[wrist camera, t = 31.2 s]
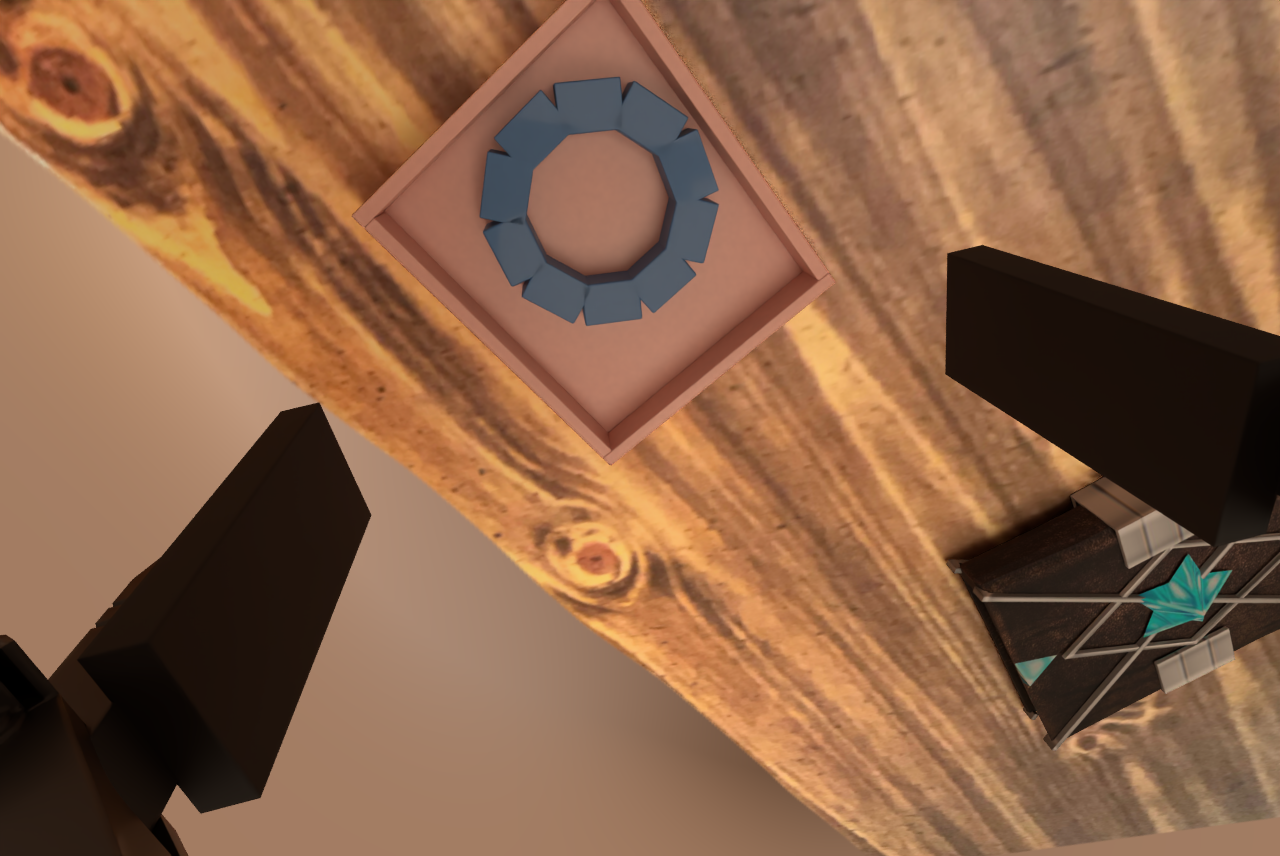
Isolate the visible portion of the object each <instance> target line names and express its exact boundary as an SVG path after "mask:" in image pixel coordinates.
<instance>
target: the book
mask: <svg viewBox="0 0 1280 856" xmlns="http://www.w3.org/2000/svg"><path fill="white" fill-rule="evenodd" d="M1070 497H1071V500H1072V503H1073V506H1074V509H1072V510H1070V511H1068V512H1066V513H1064V514H1062V515H1060V516H1058V517H1056V518H1054V519H1052V520H1050V521H1049V522H1047V523H1045V524H1042V525H1040V526H1038V527H1036V528H1034V529H1032V530H1030V531H1028V532H1026V533H1024V534H1022V535H1020V536H1018V537H1016V538H1014V539H1012V540H1010V541H1007V542H1005V543H1003V544H1001V545H999V546H997V547H995V548H993V549H991V550H989V551H987V552H985V553H983V554H981V555H979V556H977V557H975V558H972V559H970V560H949V559H948V561H947V566H948V567H949V568H950V569H951V570H952V571H953V572H954V573H960V575H961V577H962V579H963V581H964V583H965V585H966V586H967V588H968V590H969V592H970V594H971V596H972V598H973V600H974V602H975V604H976V606H977V608H978V610H979V612H980V614H981V616H982V618H983V620H984V622H985V624H986V626H987V628H988V631H989V633H990V635H991V637H992V639H993V641H994V643H995V645H996V647H997V649H998V652H999V654H1000V656H1001V658H1002V660H1003V662H1004V664H1005V666H1006V668H1007V670H1008V673H1009V675H1010V677H1011V679H1012V681H1013V683H1014V685H1015V688H1016V690H1017V692H1018V694H1019V696H1020V698H1021V701H1022V703H1023V705H1024V708H1023V710H1024V711H1025V713H1026V714H1027V715H1028V716H1029V718H1030V719H1032V720H1035V719H1036V718H1037V716H1038V715H1039V717H1040V719H1041V721H1042V723H1043V725H1044V727H1045V729H1046V731H1047V733H1048V734H1047V735H1046V736H1045V737H1044V738H1043V740H1044V741H1045V742H1046V743H1047V745H1048V746H1049V747H1050V748H1051V750H1054V751H1056V750H1057V749H1058V748H1059V747H1060V746H1061V744H1062V743H1063V742H1064V741H1065V740H1066V739H1067V738H1068V737H1070V736H1072V735H1074V734H1075V733H1077V732H1079V731H1081V730H1083V729H1085V728H1087V727H1089V726H1091V725H1093V724H1094V723H1096V722H1098V721H1100V720H1102V719H1104V718H1106V717H1108V716H1110V715H1112V714H1113V713H1115V712H1117V711H1119V710H1121V709H1123V708H1125V707H1127V706H1129V705H1131V704H1132V703H1134V702H1136V701H1138V700H1140V699H1142V698H1144V697H1146V696H1148V695H1150V694H1152V693H1154V692H1156V691H1158V690H1160V689H1161V690H1162V691H1163V692H1164V693H1165V694H1166V693H1168V692H1170V691H1172V690H1174V689H1176V688H1178V687H1180V686H1182V685H1185V684H1187V683H1189V682H1191V681H1193V680H1195V679H1197V678H1199V677H1201V676H1203V675H1205V674H1207V673H1209V672H1211V671H1213V670H1215V669H1217V668H1219V667H1221V666H1223V665H1225V664H1227V663H1229V662H1231V661H1233V660H1235V656H1234V651H1236V650H1238V649H1240V648H1241V647H1243V646H1245V645H1247V644H1249V643H1251V642H1253V641H1255V640H1257V639H1259V638H1261V637H1263V636H1265V635H1267V634H1270V633H1272V632H1274V631H1276V630H1279V629H1280V496H1279V495H1277V498H1276V501H1275V505H1274V508H1273V512H1272V515H1271V518H1270V522H1269V525H1268V529H1267V532H1266V534H1264V535H1260V536H1256V537H1252V538H1248V539H1245V540H1241V541H1237V542H1233V543H1229V544H1225V545H1222V546H1218V547H1213V546H1211V545H1209V544H1208V543H1206V542H1205V541H1203V540H1202V539H1200V538H1199V537H1197V536H1195V535H1194V534H1192V533H1191V532H1189V531H1188V530H1186V529H1185V528H1183V527H1182V526H1180V525H1178V524H1177V523H1175V522H1174V521H1172V520H1171V519H1169V518H1168V517H1166V516H1164V515H1163V514H1161V513H1160V512H1158V511H1157V510H1155V509H1154V508H1152V507H1151V506H1149V505H1147V504H1146V503H1144V502H1143V501H1141V500H1140V499H1138V498H1137V497H1135V496H1133V495H1132V494H1130V493H1129V492H1127V491H1126V490H1124V489H1123V488H1121V487H1120V486H1118V485H1116V484H1115V483H1113V482H1112V481H1110V480H1109V479H1107V478H1106V477H1104V478H1102V479H1100V480H1098V481H1096V482H1094V483H1092V484H1091V485H1089V486H1087V487H1085V488H1083V489H1081V490H1080V491H1078V492H1076V493H1074V494H1072V495H1070ZM1036 711H1037V712H1036ZM1037 713H1038V714H1037Z"/></svg>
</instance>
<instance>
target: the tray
mask: <svg viewBox="0 0 1280 856" xmlns="http://www.w3.org/2000/svg"><path fill="white" fill-rule="evenodd" d="M609 77H620V79H621V90H622V93H623V91H624V89H625V87H626V86H627V84H628V83H629V82H632V81H636V82H637V83H639V84H640V85H642V86H643V87H645V88H646V89H648V90H649V91H651V92H652V93H654V94H655V95H657V96H658V97H660V98H661V99H662V100H664V101H665V102H667V103H668V104H670V105H671V106H673V107H674V108H676V109H677V110H679V111H680V112H682V113H683V114H685V115H686V116H687V117H688V120H687V122H686V124H685V125H684V127H683V129H682V130H685V129H687V128H692V129H697V130H698V132H699V135H700V137H701V140H702V143H703V146H704V149H705V152H706V155H707V157H708V160H709V163H710V166H711V169H712V172H713V175H714V177H715V180H716V183H717V186H718V189H719V190H718V191H717V192H714V193H712V194H710V195H708V196H706V197H704V198H708V199H710V200H712V201H714V202H716V203H718V204H719V207H718V211H717V215H716V219H715V222H714V226H713V230H712V234H711V238H710V242H709V246H708V249H707V253H706V257H705V261H704V263H697V262H692V261H687V260H685V261H686V262H687V263H688V264H689V266H690V267H691V268H692V269H693V270H694V272H695V273H696V276H695V277H694V278H693V279H692V280H691V281H690V282H688V283H687V284H686V285H685V286H684V287H683V288H682V289H681V290H680V291H678V292H677V293H676V294H675V295H674V296H673V297H672V298H671V299H669V300H668V301H667V302H666V303H665V304H664V305H663V306H662V307H661V308H659V309H658V310H657V311H656V312H655V313H652V312H651V311H650V309H649V308H648V307H647V306H646V305H645V304H644V303H643V302H642V301H641V308H642V319H638V320H630V321H622V322H614V323H607V324H599V325H591V326H586V324H585V320H584V316H583V309H582V310H581V312H580V314H579V315H578V317H577V319H576V321H575V323H574V324H572V323H570V322H568V321H566V320H565V319H563V318H561V317H559V316H557V315H555V314H553V313H551V312H549V311H547V310H545V309H543V308H542V307H540V306H538V305H536V304H534V303H532V302H530V301H528V300H526V299H524V298H522V286H523V284H524V282H525V281H524V282H522V283H520V284H518V285H516V286H513V287H512V286H511V285H510V283H509V281H508V279H507V278H506V276H505V274H504V272H503V270H502V268H501V266H500V264H499V262H498V261H497V259H496V257H495V255H494V253H493V251H492V249H491V247H490V246H489V244H488V242H487V240H486V238H485V236H484V234H483V230H484V228H485V226H486V224H488V223H490V222H492V221H493V220H488V219H483V218H480V216H479V215H480V207H481V199H482V191H483V182H484V174H485V166H486V158H487V152H488V151H489V150H490V149H494V150H499V151H503V152H506V151H505V150H504V149H503V148H502V147H501V146H500V145H499V144H498V142H497V141H496V140H495V139H494V137H495V136H496V135H497V134H498V133H499V132H500V131H501V130H502V129H503V128H504V126H505V125H506V124H507V123H508V122H509V121H510V120H511V119H512V118H513V117H514V116H515V115H516V114H517V113H518V112H519V111H520V110H521V109H522V108H523V107H524V106H525V105H526V104H527V103H528V102H529V101H530V100H531V99H532V98H533V97H534V96H535V95H536V94H537V93H538V91H539V90H542V91H543V93H544V94H545V95H546V96H547V97H548V98H549V100H550V101H551V102H552V103H553V104H554V106H555V98H554V91H553V84H554V83H559V82H569V81H579V80H589V79H599V78H609ZM555 107H556V106H555ZM668 199H669V197H668V194H667V191H666V189H665V186H664V184H663V181H662V179H661V176H660V173H659V171H658V168H657V166H656V163H655V161H654V158H653V155H652V154H651V153H650V152H648V151H647V150H645V149H644V148H642V147H641V146H639V145H638V144H636V143H634V142H633V141H631V140H630V139H628V138H627V137H625V136H624V135H622V134H620V133H619V132H617V131H616V130H611V131H601V132H592V133H582V134H573V135H568V136H567V137H566V138H565V139H564V140H563V141H562V142H561V143H560V144H559V145H558V146H557V147H556V148H555V149H554V150H553V151H552V152H551V153H550V154H549V155H548V156H547V157H546V158H545V159H544V160H543V161H542V162H541V163H540V164H539V165H538V166H537V167H536V168H535V169H534V170H533V176H532V183H531V189H530V196H529V203H528V209H527V215H528V217H529V219H530V221H531V223H532V225H533V227H534V229H535V231H536V233H537V235H538V237H539V240H540V242H541V244H542V246H543V248H544V250H545V252H546V254H547V255H549V256H550V257H552V258H554V259H556V260H558V261H560V262H561V263H563V264H565V265H567V266H569V267H570V268H572V269H574V270H576V271H578V272H579V273H581V274H583V275H585V276H587V275H595V274H603V273H611V272H619V271H627V270H628V269H629V268H630V267H631V266H632V265H634V264H635V263H636V262H637V261H638V260H639V259H640V258H641V257H642V256H643V255H644V254H645V253H647V252H648V251H649V250H650V249H651V248H652V247H653V246H654V245H655V244H656V243H657V242H658V241H659V238H660V233H661V229H662V225H663V220H664V216H665V212H666V207H667V203H668ZM352 217H353V218H354V219H355V220H356V221H357V222H358V223H359V224H360V225H361V226H362V227H365V230H366V231H367V232H368V233H369V234H371V235H372V236H373V237H374V238H375V239H376V240H377V241H378V242H379V243H380V244H381V245H382V246H383V247H384V248H385V249H386V250H387V251H388V252H389V253H390V254H391V255H392V256H393V257H394V258H395V259H396V260H397V261H399V262H400V263H401V264H402V265H403V266H404V267H405V268H406V269H407V270H408V271H409V272H410V273H411V274H412V275H413V276H414V277H415V278H416V279H417V280H418V281H419V282H420V283H421V284H422V285H423V286H424V287H426V288H427V289H428V290H429V291H430V292H431V293H432V294H433V295H434V296H435V297H436V298H437V299H438V300H439V301H440V302H441V303H442V304H443V305H444V306H445V307H446V308H447V309H448V310H449V311H450V312H451V313H453V314H454V315H455V316H456V317H457V318H458V319H459V320H460V321H461V322H462V323H463V324H464V325H465V326H466V327H467V328H468V329H469V330H470V331H471V332H472V333H473V334H474V335H475V336H476V337H477V338H478V339H480V340H481V341H482V342H483V343H484V344H485V345H486V346H487V347H488V348H489V349H490V350H491V351H492V352H493V353H494V354H495V355H496V356H497V357H498V358H499V359H500V360H501V361H502V362H503V363H504V364H505V365H507V366H508V367H509V368H510V369H511V370H512V371H513V372H514V373H515V374H516V375H517V376H518V377H519V378H520V379H521V380H522V381H523V382H524V383H525V384H526V385H527V386H528V387H529V388H530V389H531V390H532V391H533V392H535V393H536V394H537V395H538V396H539V397H540V398H541V399H542V400H543V401H544V402H545V403H546V404H547V405H548V406H549V407H550V408H551V409H552V410H553V411H554V412H555V413H556V414H557V415H558V416H559V417H560V418H562V419H563V420H564V421H565V422H566V423H567V424H568V425H569V426H570V427H571V428H572V429H573V430H574V431H575V432H576V433H577V434H578V435H579V436H580V437H581V438H582V439H583V440H584V441H585V442H586V443H587V444H589V445H590V446H591V447H592V448H593V449H594V450H595V451H596V452H597V453H598V454H599V455H600V456H601V457H602V458H603V459H604V460H605V461H606V462H607V463H608V464H609V465H612V464H614V463H615V462H616V461H617V460H619V459H620V458H621V457H622V456H623V455H625V454H626V453H627V452H628V451H630V450H631V449H632V448H633V447H635V446H636V445H637V444H638V443H639V442H641V441H642V440H643V439H644V438H646V437H647V436H648V435H649V434H650V433H652V432H653V431H654V430H655V429H657V428H658V427H659V426H660V425H661V424H663V423H664V422H665V421H666V420H668V419H669V418H670V417H671V416H673V415H674V414H675V413H676V412H677V411H679V410H680V409H681V408H682V407H684V406H685V405H686V404H687V403H688V402H690V401H691V400H692V399H693V398H695V397H696V396H697V395H698V394H699V393H701V392H702V391H703V390H704V389H706V388H707V387H708V386H709V385H711V384H712V383H713V382H714V381H715V380H717V379H718V378H719V377H720V376H722V375H723V374H724V373H725V372H726V371H728V370H729V369H730V368H731V367H733V366H734V365H735V364H736V363H737V362H739V361H740V360H741V359H742V358H744V357H745V356H746V355H747V354H749V353H750V352H751V351H752V350H753V349H755V348H756V347H757V346H758V345H760V344H761V343H762V342H763V341H764V340H766V339H767V338H768V337H769V336H771V335H772V334H773V333H774V332H776V331H777V330H778V329H779V328H780V327H782V326H783V325H784V324H785V323H787V322H788V321H789V320H790V319H791V318H793V317H794V316H795V315H796V314H798V313H799V312H800V311H801V310H802V309H804V308H805V307H806V306H807V305H809V304H810V303H811V302H812V301H814V300H815V299H816V298H817V297H818V296H820V295H821V294H822V293H823V292H825V291H826V290H827V289H828V288H829V287H831V286H832V285H833V284H834V283H835V280H834V279H833V277H832V276H831V274H830V273H829V272H828V270H827V268H826V267H825V265H824V264H823V263H822V261H821V260H820V258H819V257H818V255H817V254H816V252H815V251H814V250H813V248H812V247H811V245H810V244H809V242H808V241H807V239H806V238H805V237H804V235H803V234H802V232H801V231H800V229H799V228H798V226H797V225H796V224H795V222H794V221H793V219H792V218H791V216H790V215H789V213H788V212H787V211H786V209H785V208H784V206H783V205H782V203H781V202H780V200H779V199H778V198H777V196H776V195H775V193H774V192H773V190H772V189H771V187H770V186H769V185H768V183H767V182H766V180H765V179H764V177H763V176H762V174H761V173H760V172H759V170H758V169H757V167H756V166H755V164H754V163H753V161H752V160H751V159H750V157H749V156H748V154H747V153H746V151H745V150H744V148H743V147H742V146H741V144H740V143H739V141H738V140H737V138H736V137H735V135H734V134H733V133H732V131H731V130H730V128H729V127H728V125H727V124H726V122H725V121H724V120H723V118H722V117H721V115H720V114H719V112H718V111H717V109H716V108H715V107H714V105H713V104H712V102H711V101H710V99H709V98H708V96H707V95H706V94H705V92H704V91H703V89H702V88H701V86H700V85H699V83H698V82H697V81H696V79H695V78H694V76H693V75H692V73H691V72H690V70H689V69H688V68H687V66H686V65H685V63H684V62H683V60H682V59H681V57H680V56H679V55H678V53H677V52H676V50H675V49H674V47H673V46H672V45H671V43H670V42H669V40H668V39H667V37H666V36H665V34H664V33H663V32H662V30H661V29H660V27H659V26H658V24H657V23H656V21H655V20H654V19H653V17H652V16H651V14H650V13H649V11H648V10H647V8H646V7H645V6H644V4H643V3H642V1H641V0H566V1H565V2H564V3H563V4H562V5H561V6H560V7H559V8H558V9H557V10H556V11H555V12H554V13H553V14H552V15H551V16H550V17H549V18H548V19H547V20H546V21H545V22H544V23H543V24H542V25H541V26H540V27H539V28H538V29H537V30H536V31H535V32H534V33H533V34H532V35H531V36H530V37H529V38H528V39H527V40H526V41H525V42H524V43H523V44H522V45H521V46H520V47H519V48H518V49H517V50H516V51H515V52H514V53H513V54H512V55H511V56H510V57H509V58H508V59H507V60H506V61H505V62H504V63H503V64H502V65H501V66H500V67H499V68H498V69H497V70H496V71H495V72H494V73H493V74H492V75H491V76H490V77H489V78H488V79H487V80H486V81H485V82H484V83H483V84H482V85H481V86H480V87H479V88H478V89H477V90H476V91H475V92H474V93H473V94H472V95H471V96H470V97H469V98H468V99H467V100H466V101H465V102H464V103H463V104H462V105H461V106H460V107H459V108H458V109H457V110H456V111H455V112H454V113H453V114H452V115H451V116H450V117H449V118H448V119H447V120H446V121H445V122H444V123H443V124H442V125H441V126H440V127H439V128H438V129H437V130H436V131H435V132H434V133H433V134H432V135H431V136H430V137H429V138H428V139H427V140H426V141H425V142H424V143H423V144H422V145H421V146H420V147H419V148H418V149H417V150H416V151H415V152H414V153H413V154H412V155H411V156H410V157H409V158H408V159H407V160H406V161H405V162H404V163H403V164H402V165H401V166H400V167H399V168H398V169H397V170H396V171H395V172H394V173H393V174H392V175H391V176H390V177H389V178H388V179H387V180H386V181H385V182H384V183H383V184H382V186H381V187H380V188H379V189H378V190H377V191H376V192H375V193H374V194H373V195H372V196H371V197H370V198H369V199H368V200H367V201H366V202H365V203H364V204H363V205H362V206H361V207H360V208H359V209H358V210H357V211H356V212H355V213H354V214H353V215H352Z"/></svg>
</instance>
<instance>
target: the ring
mask: <svg viewBox="0 0 1280 856" xmlns="http://www.w3.org/2000/svg"><path fill="white" fill-rule="evenodd" d="M553 91H554V98H555V106H556V107H555V106H554V104H553V103H552V102H551V101H550V100H549V98H548V97H547V96H546V95H545V94H544V93H543V91H542V90H539V91H538V93H537V94H536V95H535V96H534V97H533V98H532V99H531V100H530V101H529V102H528V103H527V104H526V105H525V106H524V107H523V108H522V109H521V110H520V111H519V112H518V113H517V114H516V115H515V116H514V117H513V118H512V119H511V120H510V121H509V122H508V123H507V124H506V125H505V126H504V128H503V129H502V130H501V131H500V132H499V133H498V134H497V135H496V136H495V137H494V139H495V140H496V141H497V142H498V144H499V145H500V146H501V147H502V148H503V149H504V150H505V151H506V152H503V151H499V150H494V149H490V150H489V151H488V152H487V158H486V166H485V174H484V182H483V191H482V199H481V207H480V215H479V216H480V218H483V219H488V220H493V221H492V222H490V223H488V224H486V226H485V228H484V230H483V234H484V236H485V238H486V240H487V242H488V244H489V246H490V247H491V249H492V251H493V253H494V255H495V257H496V259H497V261H498V262H499V264H500V266H501V268H502V270H503V272H504V274H505V276H506V278H507V279H508V281H509V283H510V285H511V286H512V287H513V286H516V285H518V284H520V283H522V282H524V281H525V282H524V284H523V286H522V298H524V299H526V300H528V301H530V302H532V303H534V304H536V305H538V306H540V307H542V308H543V309H545V310H547V311H549V312H551V313H553V314H555V315H557V316H559V317H561V318H563V319H565V320H566V321H568V322H570V323H572V324H574V323H575V321H576V319H577V317H578V315H579V314H580V312H581V310H582V309H583V316H584V320H585V324H586V326H591V325H599V324H607V323H614V322H622V321H630V320H638V319H642V308H641V301H642V302H643V303H644V304H645V305H646V306H647V307H648V308H649V309H650V311H651V312H652V313H655V312H656V311H657V310H658V309H659V308H661V307H662V306H663V305H664V304H665V303H666V302H667V301H668V300H669V299H671V298H672V297H673V296H674V295H675V294H676V293H677V292H678V291H680V290H681V289H682V288H683V287H684V286H685V285H686V284H687V283H688V282H690V281H691V280H692V279H693V278H694V277H695V276H696V273H695V272H694V270H693V269H692V268H691V267H690V266H689V264H688V263H687V262H686V261H685V260H687V261H692V262H697V263H704V261H705V257H706V253H707V249H708V246H709V242H710V238H711V234H712V230H713V226H714V222H715V219H716V215H717V211H718V207H719V204H718V203H716V202H714V201H712V200H710V199H708V198H704V197H706V196H708V195H710V194H712V193H714V192H717V191H718V190H719V189H718V186H717V183H716V180H715V177H714V175H713V172H712V169H711V166H710V163H709V160H708V157H707V155H706V152H705V149H704V146H703V143H702V140H701V137H700V135H699V132H698V130H697V129H692V128H687V129H685V130H682V129H683V127H684V125H685V124H686V122H687V120H688V117H687V116H686V115H685V114H683V113H682V112H680V111H679V110H677V109H676V108H674V107H673V106H671V105H670V104H668V103H667V102H665V101H664V100H662V99H661V98H660V97H658V96H657V95H655V94H654V93H652V92H651V91H649V90H648V89H646V88H645V87H643V86H642V85H640V84H639V83H637V82H636V81H632V82H629V83H628V84H627V86H626V87H625V89H624V91H623V93H622V90H621V79H620V77H609V78H599V79H589V80H579V81H569V82H559V83H554V84H553ZM611 130H616V131H617V132H619V133H620V134H622V135H624V136H625V137H627V138H628V139H630V140H631V141H633V142H634V143H636V144H638V145H639V146H641V147H642V148H644V149H645V150H647V151H648V152H650V153H651V154H652V155H653V158H654V161H655V163H656V166H657V168H658V171H659V173H660V176H661V179H662V181H663V184H664V186H665V189H666V191H667V194H668V197H669V199H668V203H667V207H666V212H665V216H664V220H663V225H662V229H661V233H660V238H659V241H658V242H657V243H656V244H655V245H654V246H653V247H652V248H651V249H650V250H649V251H648V252H647V253H645V254H644V255H643V256H642V257H641V258H640V259H639V260H638V261H637V262H636V263H635V264H634V265H632V266H631V267H630V268H629V269H628V270H627V271H619V272H611V273H603V274H595V275H587V276H585V275H583V274H581V273H579V272H578V271H576V270H574V269H572V268H570V267H569V266H567V265H565V264H563V263H561V262H560V261H558V260H556V259H554V258H552V257H550V256H549V255H547V254H546V252H545V250H544V248H543V246H542V244H541V242H540V240H539V237H538V235H537V233H536V231H535V229H534V227H533V225H532V223H531V221H530V219H529V217H528V215H527V209H528V203H529V196H530V189H531V183H532V176H533V170H534V169H535V168H536V167H537V166H538V165H539V164H540V163H541V162H542V161H543V160H544V159H545V158H546V157H547V156H548V155H549V154H550V153H551V152H552V151H553V150H554V149H555V148H556V147H557V146H558V145H559V144H560V143H561V142H562V141H563V140H564V139H565V138H566V137H567V136H568V135H573V134H582V133H592V132H601V131H611Z"/></svg>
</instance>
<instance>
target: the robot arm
mask: <svg viewBox="0 0 1280 856" xmlns="http://www.w3.org/2000/svg"><path fill="white" fill-rule="evenodd" d="M945 374H946V375H948V376H949V377H951V378H952V379H954V380H955V381H957V382H958V383H960V384H961V385H963V386H965V387H966V388H968V389H969V390H971V391H972V392H974V393H975V394H977V395H979V396H980V397H982V398H983V399H985V400H986V401H988V402H989V403H991V404H992V405H994V406H996V407H997V408H999V409H1000V410H1002V411H1003V412H1005V413H1006V414H1008V415H1010V416H1011V417H1013V418H1014V419H1016V420H1017V421H1019V422H1020V423H1022V424H1023V425H1025V426H1027V427H1028V428H1030V429H1031V430H1033V431H1034V432H1036V433H1037V434H1039V435H1041V436H1042V437H1044V438H1045V439H1047V440H1048V441H1050V442H1051V443H1053V444H1054V445H1056V446H1058V447H1059V448H1061V449H1062V450H1064V451H1065V452H1067V453H1068V454H1070V455H1071V456H1073V457H1075V458H1076V459H1078V460H1079V461H1081V462H1082V463H1084V464H1085V465H1087V466H1089V467H1090V468H1092V469H1093V470H1095V471H1096V472H1098V473H1099V474H1101V475H1102V476H1104V477H1106V478H1107V479H1109V480H1110V481H1112V482H1113V483H1115V484H1116V485H1118V486H1120V487H1121V488H1123V489H1124V490H1126V491H1127V492H1129V493H1130V494H1132V495H1133V496H1135V497H1137V498H1138V499H1140V500H1141V501H1143V502H1144V503H1146V504H1147V505H1149V506H1151V507H1152V508H1154V509H1155V510H1157V511H1158V512H1160V513H1161V514H1163V515H1164V516H1166V517H1168V518H1169V519H1171V520H1172V521H1174V522H1175V523H1177V524H1178V525H1180V526H1182V527H1183V528H1185V529H1186V530H1188V531H1189V532H1191V533H1192V534H1194V535H1195V536H1197V537H1199V538H1200V539H1202V540H1203V541H1205V542H1206V543H1208V544H1209V545H1211V546H1213V547H1218V546H1222V545H1225V544H1229V543H1233V542H1237V541H1241V540H1245V539H1248V538H1252V537H1256V536H1260V535H1264V534H1266V532H1267V529H1268V525H1269V522H1270V518H1271V515H1272V512H1273V508H1274V505H1275V501H1276V498H1277V495H1279V496H1280V336H1278V335H1275V334H1271V333H1268V332H1265V331H1262V330H1258V329H1255V328H1252V327H1249V326H1245V325H1242V324H1239V323H1236V322H1232V321H1229V320H1226V319H1222V318H1219V317H1216V316H1213V315H1209V314H1206V313H1203V312H1200V311H1196V310H1193V309H1190V308H1187V307H1183V306H1180V305H1177V304H1173V303H1170V302H1167V301H1164V300H1160V299H1157V298H1154V297H1151V296H1147V295H1144V294H1141V293H1138V292H1134V291H1131V290H1128V289H1124V288H1121V287H1118V286H1115V285H1111V284H1108V283H1105V282H1102V281H1098V280H1095V279H1092V278H1088V277H1085V276H1082V275H1079V274H1075V273H1072V272H1069V271H1066V270H1062V269H1059V268H1056V267H1053V266H1049V265H1046V264H1043V263H1039V262H1036V261H1033V260H1030V259H1026V258H1023V257H1020V256H1017V255H1013V254H1010V253H1007V252H1004V251H1000V250H997V249H994V248H990V247H987V246H984V245H981V246H976V247H972V248H968V249H964V250H960V251H955V252H951V253H947V312H946V372H945ZM370 517H371V513H370V511H369V509H368V507H367V505H366V503H365V500H364V498H363V496H362V494H361V492H360V490H359V487H358V485H357V483H356V481H355V479H354V477H353V475H352V472H351V470H350V468H349V466H348V464H347V461H346V459H345V457H344V455H343V453H342V451H341V448H340V447H339V444H338V442H337V440H336V438H335V435H334V433H333V431H332V429H331V427H330V425H329V422H328V420H327V418H326V416H325V414H324V412H323V409H322V407H321V405H320V403H315V404H311V405H306V406H302V407H298V408H294V409H290V410H285V411H282V412H280V413H279V415H278V416H277V417H276V418H275V419H274V421H273V422H272V423H271V424H270V425H269V427H268V428H267V429H266V430H265V432H264V433H263V434H262V435H261V437H260V438H259V439H258V440H257V441H256V442H255V444H254V445H253V446H252V447H251V449H250V450H249V451H248V452H247V453H246V455H245V456H244V457H243V458H242V459H241V461H240V462H239V463H238V464H237V466H236V467H235V468H234V469H233V471H232V472H231V473H230V474H229V475H228V477H227V478H226V479H225V480H224V481H223V483H222V484H221V485H220V486H219V487H218V489H217V490H216V491H215V492H214V493H213V495H212V496H211V497H210V498H209V500H208V501H207V502H206V503H205V504H204V506H203V507H202V508H201V509H200V511H199V512H198V513H197V514H196V515H195V517H194V518H193V519H192V520H191V522H190V523H189V524H188V525H187V526H186V527H185V529H184V530H183V531H182V533H181V534H180V535H179V536H178V537H177V538H176V540H175V541H174V542H173V543H172V545H171V546H170V547H169V548H168V549H167V551H166V552H165V553H164V554H163V555H162V557H161V558H159V559H158V560H157V561H156V562H154V563H153V564H152V565H150V566H149V567H148V568H147V569H145V570H144V571H143V572H141V573H140V574H139V575H138V576H136V577H135V578H134V579H133V580H132V581H131V582H130V583H129V584H128V586H127V587H126V588H125V589H124V590H123V592H122V593H121V594H120V595H119V596H118V597H117V599H116V600H115V601H114V602H113V607H111V608H108V609H107V611H106V612H105V613H104V614H103V615H102V616H101V618H100V619H99V620H98V621H97V622H96V623H95V624H96V628H93V629H90V631H89V632H88V633H87V634H86V635H85V637H84V638H83V639H82V640H81V641H80V642H79V644H78V645H77V646H76V647H75V648H74V650H73V651H72V652H71V653H70V654H69V656H68V657H67V658H66V659H65V660H64V661H63V663H62V664H61V665H60V666H59V667H58V668H57V670H56V671H55V672H54V673H53V674H52V676H51V677H50V678H49V679H48V680H47V678H46V677H45V676H44V675H43V674H42V673H41V671H40V670H39V669H38V668H37V667H36V666H35V664H34V663H33V662H32V661H31V660H30V659H29V657H28V656H27V655H26V654H25V652H24V651H23V650H22V649H21V648H20V647H19V645H18V644H17V643H16V642H15V641H14V640H13V639H11V638H10V637H8V636H7V635H0V856H188V854H187V852H186V850H185V848H184V846H183V844H182V842H181V840H180V838H179V836H178V834H177V832H176V830H175V829H174V828H173V827H172V826H171V824H170V823H169V822H168V821H167V820H166V819H165V817H164V816H163V815H162V812H163V810H164V808H165V806H166V804H167V802H168V800H169V798H170V797H171V795H172V792H173V791H174V789H175V787H176V785H178V786H179V787H180V788H181V790H182V791H183V792H184V793H185V795H186V796H187V797H188V798H189V800H190V801H191V802H192V803H193V804H194V806H195V807H196V808H197V810H198V811H199V812H200V813H204V812H209V811H212V810H216V809H220V808H223V807H227V806H231V805H235V804H239V803H243V802H246V801H250V800H254V799H258V798H260V797H261V795H262V792H263V790H264V787H265V785H266V782H267V780H268V777H269V775H270V772H271V769H272V767H273V764H274V762H275V759H276V757H277V754H278V752H279V749H280V747H281V744H282V741H283V739H284V736H285V734H286V731H287V729H288V726H289V724H290V721H291V719H292V716H293V713H294V711H295V708H296V706H297V703H298V701H299V698H300V696H301V693H302V691H303V688H304V685H305V683H306V680H307V678H308V675H309V673H310V670H311V667H312V665H313V662H314V660H315V657H316V655H317V652H318V650H319V647H320V645H321V642H322V640H323V637H324V634H325V632H326V629H327V627H328V624H329V622H330V619H331V616H332V614H333V611H334V609H335V606H336V603H337V601H338V599H339V596H340V594H341V591H342V588H343V586H344V584H345V581H346V578H347V576H348V573H349V570H350V568H351V566H352V563H353V561H354V558H355V555H356V553H357V550H358V548H359V545H360V543H361V540H362V538H363V535H364V533H365V530H366V527H367V525H368V522H369V520H370Z"/></svg>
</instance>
